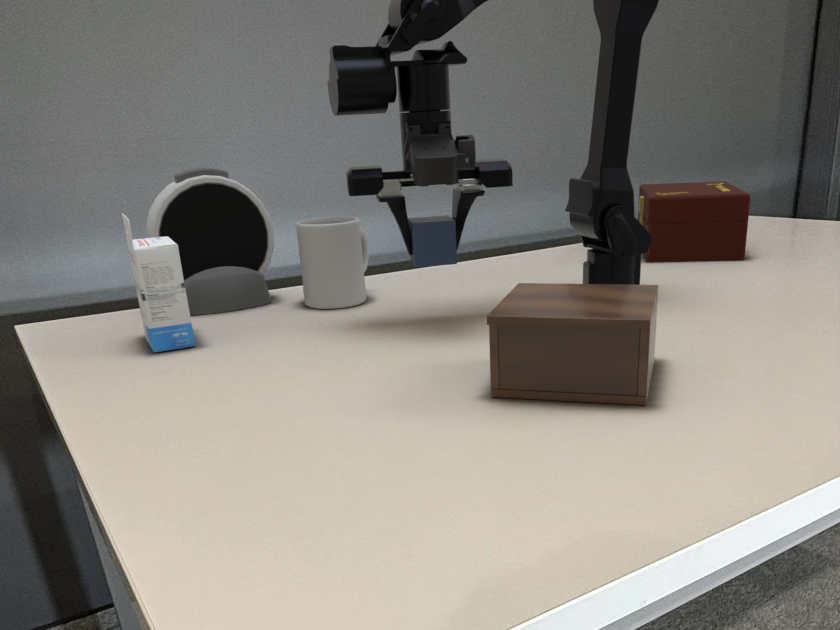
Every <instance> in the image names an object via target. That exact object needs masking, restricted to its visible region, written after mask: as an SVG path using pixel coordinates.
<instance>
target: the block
mask: <svg viewBox="0 0 840 630" xmlns="http://www.w3.org/2000/svg"><path fill="white" fill-rule="evenodd" d="M408 222H409V228H410V233H411V239H412V255H409V257H410V258H409V259H410V262H411V263H412V265H413V266H414V268H422V267H438V266H448V265H449V266H451V265H458V256H457V255H458V254H457V253H458V250H457V251H456V227H455V220H454V219H453V218H452V216H450V215H434V216H433V215H432V216H418V217H408Z"/></svg>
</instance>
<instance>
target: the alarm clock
mask: <svg viewBox="0 0 840 630" xmlns="http://www.w3.org/2000/svg"><path fill="white" fill-rule="evenodd" d="M173 179H174V181H173V182H171V183H168V185H166V187H164V188H163V189H162V190H161V191H160V193H158V194H157V196H156V197H155V199H154V201H153V203H152V205H151V206H150V208H149V211H148V216H147V219H146V220H147V221H146V225H145V228H146V238H154V237H166V236H168V237H169V238H170V239H171V240H173V241H174V242H175V243H176V244H177V245H178V249H179V255H180V261H181V267H182V273H183V278H184V284H185V290H186V295H187V301H188V306H189V312H190V316H201V315H210V314H219V313H227V312H234V311H239V310H245V309H246V310H247V309H252V308H255V307H259V306H260V307H261V306H264V305H268V304H271V303H272V298H271V293H270V290H269V287H268V284H267V281H266V277H265V276H264V274H265V273H266V271H267V269H268V267H269V266H270V263H271V261H272V257H273V253H274V249H275V232H274V227H273V224H272V219H271V216H270V214H269V213H268V211H267V209H266V207H265V205H264V203H263V202H262V201H261V200H260V199H259V197H258V196H256V194H255V193H254V192H253V191H252V190H251V189H249V188H248V187H247V186H245V185H243V184H242V183H240V182H238V181H237V180H234V179H231V178H230V175H229V172H228V171H227V170H223V169H219V168H213V167H206V166H205V167H203V166H202V167H201V166H197V167H192V168H191V167H190V168H188V169H184V170H181V171H179V172H177V173H175V174H174V176H173Z"/></svg>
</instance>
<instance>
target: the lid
mask: <svg viewBox="0 0 840 630" xmlns="http://www.w3.org/2000/svg"><path fill="white" fill-rule="evenodd" d="M657 295H658V296H659V284H640V285H624V284H583V283H544V282H543V283H542V282H541V283H538V282H537V283H534V282H532V283H531V282H518V283H517V284H516V285H515V286H514V288H512V289H511V290H510V291H509V292H508V294H506V295H505V296H504V297H503V299H502V300H500V302H498V303H497V304H496V306H495V307H493V309H492V310H491V311H489V313H487V315H486V325H487V326H489V325H514V326H550V327H586V328H621V329H650V326H651V322H652V317H653V313H654V308H655V304H656V300H657Z"/></svg>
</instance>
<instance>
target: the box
mask: <svg viewBox="0 0 840 630" xmlns="http://www.w3.org/2000/svg"><path fill="white" fill-rule="evenodd" d="M750 206H751V194H750V193H748V192H746V191H744V190H742V189H741V188H739V187H737V186H736V185H734V184H731V183H729V182H727V181H725V180H723V181H698V182H695V181H694V182H669V183H666V182H665V183H643V184H640V186H639V189H638V210H637V211H638V213H637V220H638V221H639V222H640V224H641V225H642V226H643V227H644V228H645V229H646V230H647V231H648V232H649V233H650V234H651V236H652V239H651V242H650V245H649V248H648V251H647V252H646V253H642V256H643V258H644V260H645V262H648V263H661V262H664V263H665V262H702V261H703V262H705V261H743V260H745V257H746V247H747V237H748V226H749V217H750Z"/></svg>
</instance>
